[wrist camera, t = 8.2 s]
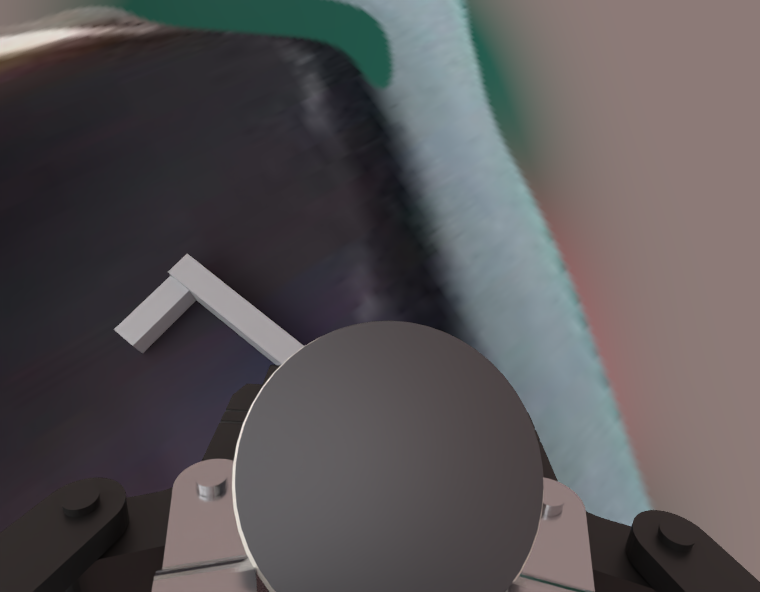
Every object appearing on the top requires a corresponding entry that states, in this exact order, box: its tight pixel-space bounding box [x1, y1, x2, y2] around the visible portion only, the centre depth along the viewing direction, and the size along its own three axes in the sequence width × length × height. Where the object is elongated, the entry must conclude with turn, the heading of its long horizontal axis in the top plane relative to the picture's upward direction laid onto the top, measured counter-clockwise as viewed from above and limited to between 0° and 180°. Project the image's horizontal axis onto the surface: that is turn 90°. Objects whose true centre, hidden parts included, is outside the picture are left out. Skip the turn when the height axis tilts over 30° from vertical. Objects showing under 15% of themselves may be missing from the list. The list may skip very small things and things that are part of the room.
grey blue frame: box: [114, 254, 304, 366], centre depth 29 cm, size 22×6×2 cm, turn 52°
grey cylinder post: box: [232, 321, 544, 592], centre depth 12 cm, size 4×4×11 cm
